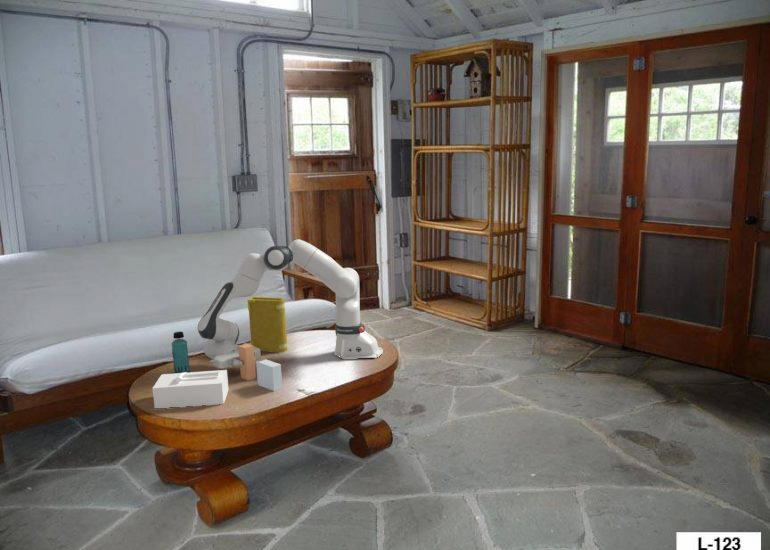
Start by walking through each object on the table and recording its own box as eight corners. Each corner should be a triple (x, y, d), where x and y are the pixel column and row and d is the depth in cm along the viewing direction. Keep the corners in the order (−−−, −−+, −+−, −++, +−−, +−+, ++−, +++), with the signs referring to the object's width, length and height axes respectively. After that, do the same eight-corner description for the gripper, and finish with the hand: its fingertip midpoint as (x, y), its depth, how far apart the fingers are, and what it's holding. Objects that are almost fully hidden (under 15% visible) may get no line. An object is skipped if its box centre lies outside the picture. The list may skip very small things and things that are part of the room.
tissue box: (163, 395, 242) (160, 368, 240) (228, 390, 245) (226, 364, 242) (154, 410, 228) (151, 382, 226) (223, 404, 231) (221, 377, 228)
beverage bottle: (185, 373, 264) (180, 329, 260) (194, 377, 260) (189, 331, 256) (171, 378, 259) (166, 332, 255) (180, 381, 255) (175, 335, 251)
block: (240, 377, 257) (238, 345, 254) (249, 375, 260) (246, 343, 257) (247, 380, 253) (245, 348, 251) (255, 377, 256) (253, 345, 253)
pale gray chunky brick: (257, 384, 249) (255, 361, 247) (265, 381, 252) (264, 358, 250) (274, 391, 241) (272, 366, 239) (282, 388, 244) (280, 364, 242)
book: (251, 350, 292) (247, 299, 287) (258, 346, 298) (254, 296, 293) (283, 353, 287) (280, 301, 282) (289, 348, 293) (286, 297, 288)
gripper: (207, 353, 256) (225, 360, 246) (248, 341, 270) (267, 348, 261) (208, 368, 257) (227, 375, 248) (249, 355, 272) (268, 362, 262)
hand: (248, 361), depth 254 cm, fingers closed on block, 4 cm apart
